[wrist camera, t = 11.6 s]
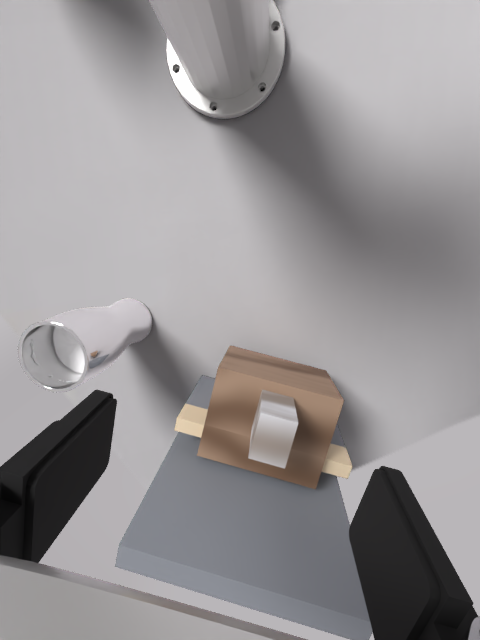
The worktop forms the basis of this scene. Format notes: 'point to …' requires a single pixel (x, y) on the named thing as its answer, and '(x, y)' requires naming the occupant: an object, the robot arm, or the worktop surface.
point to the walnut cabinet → (271, 417)
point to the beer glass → (81, 343)
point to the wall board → (249, 533)
